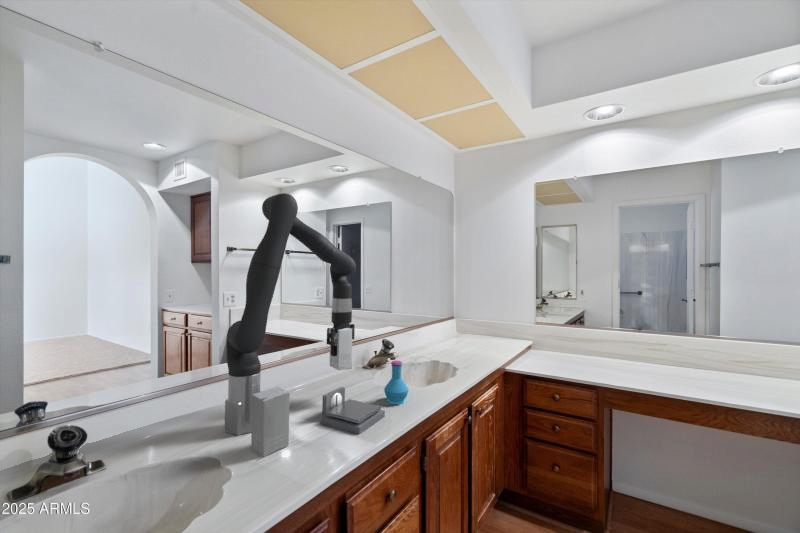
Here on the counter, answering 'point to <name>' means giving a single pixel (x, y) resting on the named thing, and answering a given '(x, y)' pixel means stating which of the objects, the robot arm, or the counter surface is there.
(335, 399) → the scale base
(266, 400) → the skincare box
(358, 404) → the pan
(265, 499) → the counter surface
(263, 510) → the counter surface
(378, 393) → the counter surface
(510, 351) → the counter surface
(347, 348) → the skincare box
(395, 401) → the perfume bottle
